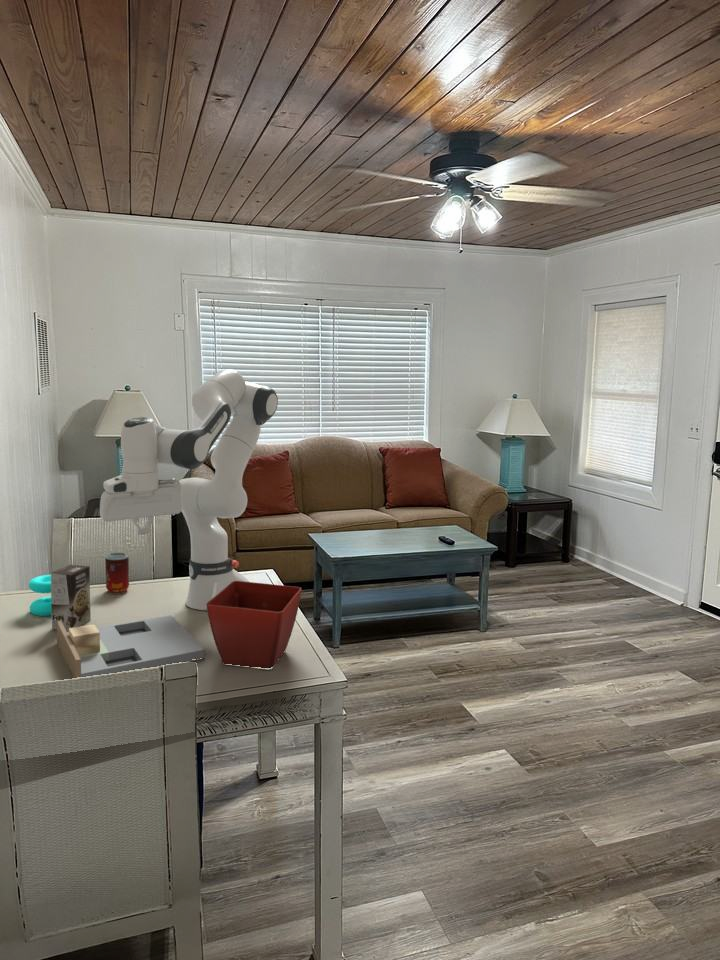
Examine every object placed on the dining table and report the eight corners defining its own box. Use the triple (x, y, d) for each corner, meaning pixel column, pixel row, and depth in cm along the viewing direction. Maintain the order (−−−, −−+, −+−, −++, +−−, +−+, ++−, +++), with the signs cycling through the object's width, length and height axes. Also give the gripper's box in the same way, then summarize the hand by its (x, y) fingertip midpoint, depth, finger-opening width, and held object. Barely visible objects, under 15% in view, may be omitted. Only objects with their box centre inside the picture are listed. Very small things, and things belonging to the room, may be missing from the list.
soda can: (104, 589, 216) (104, 552, 214) (127, 586, 219) (127, 550, 217) (107, 596, 210) (106, 558, 208) (130, 593, 213) (130, 556, 211)
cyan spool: (73, 577, 195) (42, 586, 187) (74, 610, 197) (43, 619, 189) (52, 571, 200) (21, 579, 192) (53, 603, 202) (22, 612, 194)
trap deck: (171, 623, 190) (171, 603, 189) (204, 659, 167) (204, 636, 166) (57, 642, 173) (56, 620, 172) (76, 685, 151) (76, 660, 150)
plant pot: (280, 679, 158) (281, 611, 155) (204, 670, 161) (204, 603, 159) (301, 647, 177) (302, 586, 174) (232, 640, 180) (233, 580, 177)
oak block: (94, 642, 168) (94, 624, 167) (100, 651, 163) (99, 632, 163) (69, 647, 165) (68, 628, 164) (74, 656, 160) (73, 636, 159)
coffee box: (72, 631, 181) (70, 574, 178) (51, 629, 182) (49, 572, 180) (91, 620, 190) (90, 565, 187) (71, 617, 191) (70, 563, 188)
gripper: (177, 476, 178) (178, 526, 181) (96, 482, 167) (99, 535, 170) (184, 480, 173) (185, 531, 175) (102, 487, 162) (105, 541, 164)
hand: (142, 533), depth 172 cm, fingers closed
